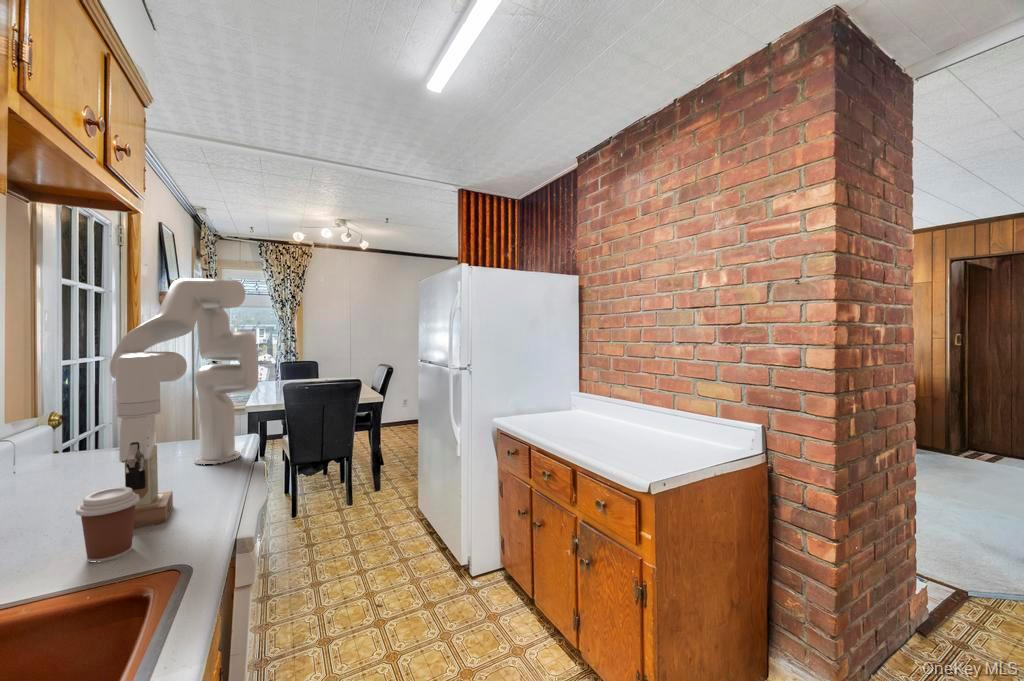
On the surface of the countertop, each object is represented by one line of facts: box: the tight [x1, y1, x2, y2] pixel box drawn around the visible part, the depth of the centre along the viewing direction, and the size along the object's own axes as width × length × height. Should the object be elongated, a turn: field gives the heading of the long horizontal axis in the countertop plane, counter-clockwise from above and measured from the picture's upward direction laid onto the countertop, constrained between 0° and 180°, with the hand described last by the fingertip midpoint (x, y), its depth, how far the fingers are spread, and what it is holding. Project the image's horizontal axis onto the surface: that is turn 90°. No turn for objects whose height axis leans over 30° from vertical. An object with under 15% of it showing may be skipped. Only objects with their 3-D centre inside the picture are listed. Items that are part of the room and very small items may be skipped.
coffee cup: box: [75, 486, 140, 562], centre depth 83 cm, size 9×9×12 cm
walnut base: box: [133, 490, 174, 529], centre depth 98 cm, size 10×10×4 cm
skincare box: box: [124, 444, 159, 506], centre depth 98 cm, size 6×4×12 cm
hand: (140, 482), depth 97 cm, fingers open, 9 cm apart
